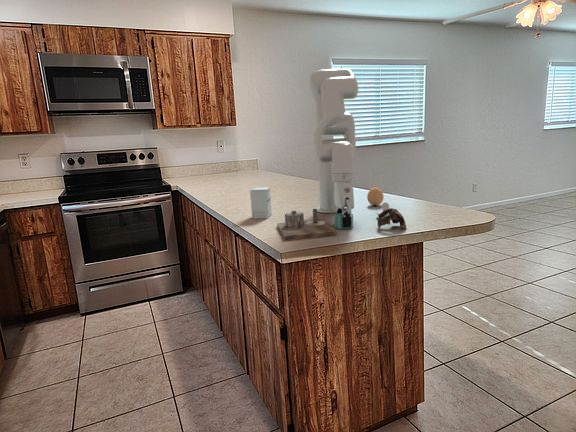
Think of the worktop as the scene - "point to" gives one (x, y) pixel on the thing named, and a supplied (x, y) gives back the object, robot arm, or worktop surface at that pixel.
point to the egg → (375, 196)
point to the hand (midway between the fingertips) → (343, 224)
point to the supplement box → (260, 202)
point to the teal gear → (339, 221)
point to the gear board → (304, 227)
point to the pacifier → (384, 207)
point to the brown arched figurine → (393, 215)
